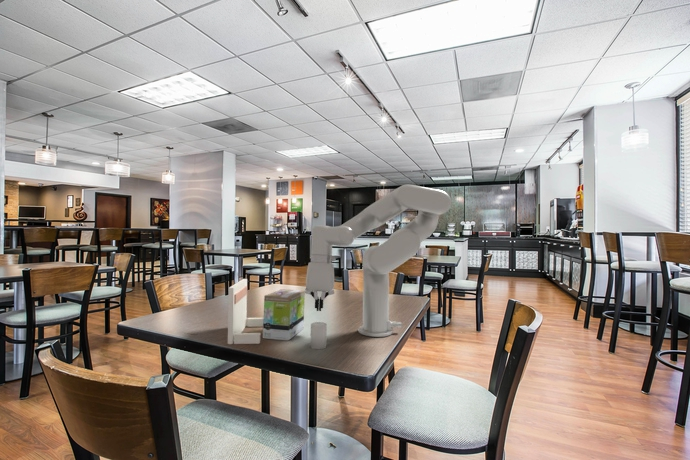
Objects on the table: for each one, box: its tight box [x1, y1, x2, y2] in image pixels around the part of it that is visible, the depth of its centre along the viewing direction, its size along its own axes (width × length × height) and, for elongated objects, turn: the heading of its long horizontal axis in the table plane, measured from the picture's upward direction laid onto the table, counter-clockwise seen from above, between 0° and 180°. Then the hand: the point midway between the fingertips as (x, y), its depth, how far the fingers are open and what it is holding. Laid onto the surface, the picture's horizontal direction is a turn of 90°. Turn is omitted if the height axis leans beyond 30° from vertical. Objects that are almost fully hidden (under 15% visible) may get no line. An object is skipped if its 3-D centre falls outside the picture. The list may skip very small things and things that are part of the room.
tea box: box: [262, 288, 306, 341], centre depth 116 cm, size 15×10×15 cm, turn 168°
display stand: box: [227, 278, 263, 345], centre depth 115 cm, size 10×21×18 cm, turn 5°
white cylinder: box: [310, 321, 328, 350], centre depth 103 cm, size 5×5×7 cm
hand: (318, 310), depth 117 cm, fingers closed
